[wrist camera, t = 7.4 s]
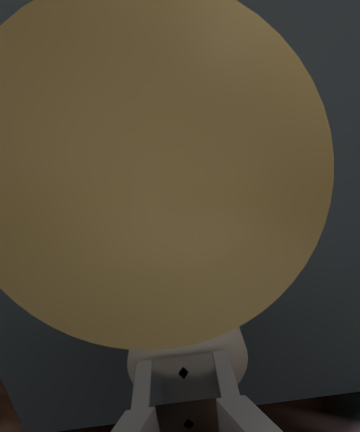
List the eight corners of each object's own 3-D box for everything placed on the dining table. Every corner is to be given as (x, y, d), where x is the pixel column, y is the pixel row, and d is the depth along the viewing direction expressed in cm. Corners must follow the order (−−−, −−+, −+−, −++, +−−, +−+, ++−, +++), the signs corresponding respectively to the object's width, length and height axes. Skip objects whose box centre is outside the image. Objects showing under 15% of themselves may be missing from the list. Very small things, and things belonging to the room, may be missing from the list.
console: (367, 390, 15) (447, -120, 8) (26, 435, 15) (-193, -42, 8) (300, 297, 22) (310, -9, 16) (72, 326, 22) (-19, 32, 15)
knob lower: (249, 399, 10) (245, 307, 9) (138, 414, 10) (116, 324, 9) (202, 239, 23) (197, 191, 21) (153, 245, 23) (145, 198, 21)
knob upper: (323, 328, 4) (350, -57, 2) (18, 368, 4) (-135, 2, 2) (201, 160, 16) (194, 84, 15) (131, 169, 16) (118, 94, 15)
